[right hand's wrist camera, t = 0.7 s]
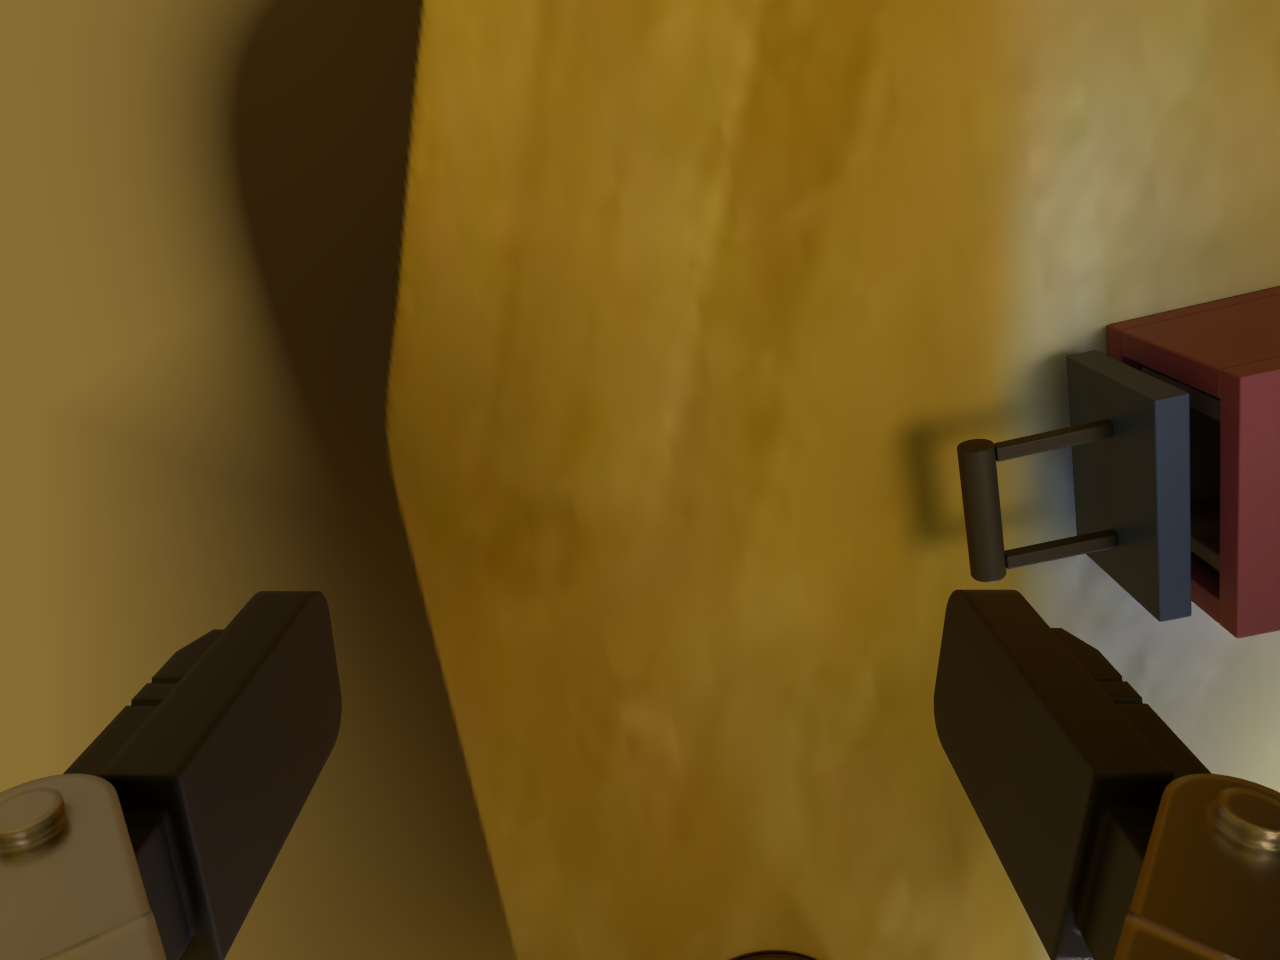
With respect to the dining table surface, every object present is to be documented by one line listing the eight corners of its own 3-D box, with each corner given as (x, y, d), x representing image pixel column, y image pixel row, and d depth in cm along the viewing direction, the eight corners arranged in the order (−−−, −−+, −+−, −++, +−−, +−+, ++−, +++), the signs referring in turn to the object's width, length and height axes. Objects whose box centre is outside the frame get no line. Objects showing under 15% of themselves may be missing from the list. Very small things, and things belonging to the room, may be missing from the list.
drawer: (948, 573, 40) (1006, 653, 34) (926, 387, 37) (985, 437, 30) (1403, 479, 38) (1553, 545, 32) (1421, 276, 35) (1591, 305, 29)
